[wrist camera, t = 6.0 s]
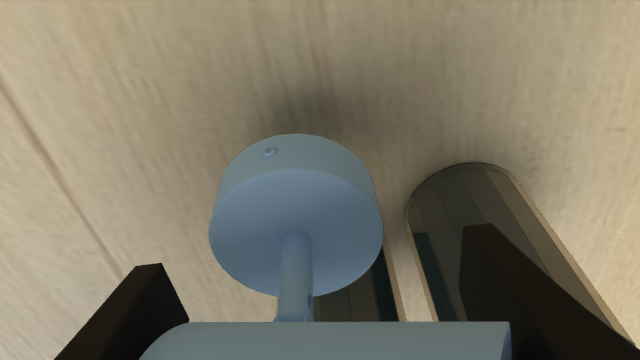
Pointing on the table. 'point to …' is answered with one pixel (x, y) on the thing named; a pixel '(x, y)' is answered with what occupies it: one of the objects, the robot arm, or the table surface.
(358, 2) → the table surface
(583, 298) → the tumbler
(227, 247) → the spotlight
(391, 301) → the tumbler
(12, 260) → the table surface
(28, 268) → the table surface
